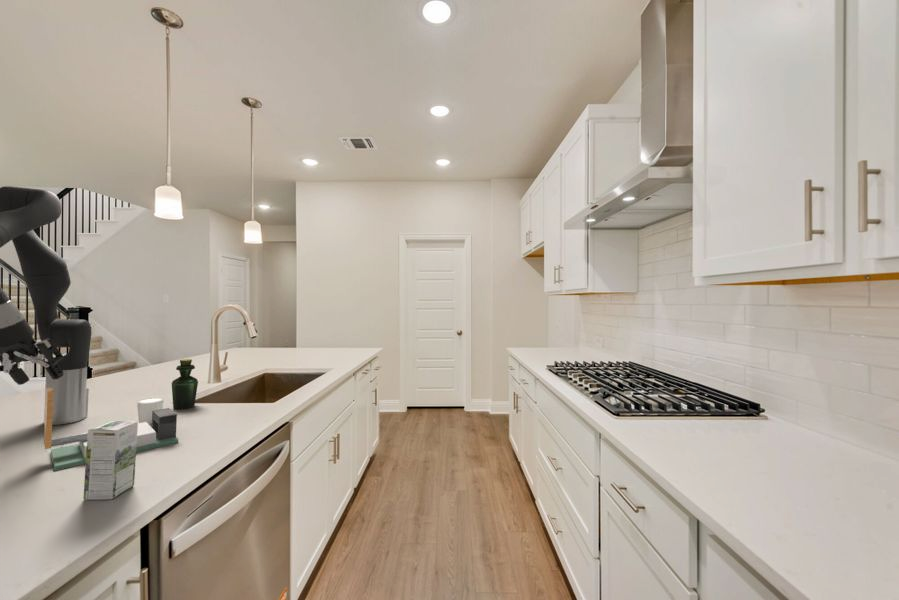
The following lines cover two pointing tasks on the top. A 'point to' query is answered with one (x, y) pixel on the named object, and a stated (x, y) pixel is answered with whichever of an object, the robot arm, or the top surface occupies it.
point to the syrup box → (110, 460)
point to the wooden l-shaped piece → (48, 425)
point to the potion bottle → (184, 386)
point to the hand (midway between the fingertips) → (41, 380)
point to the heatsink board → (77, 458)
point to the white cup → (148, 408)
